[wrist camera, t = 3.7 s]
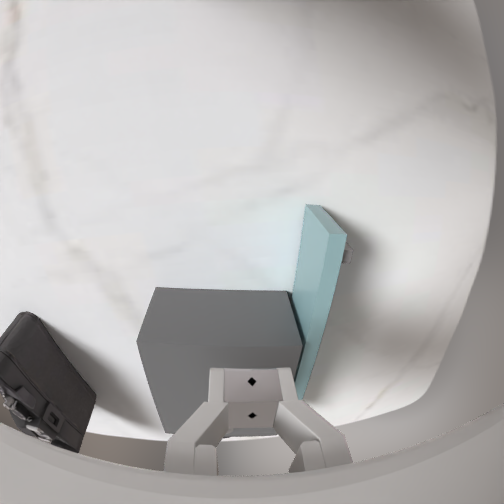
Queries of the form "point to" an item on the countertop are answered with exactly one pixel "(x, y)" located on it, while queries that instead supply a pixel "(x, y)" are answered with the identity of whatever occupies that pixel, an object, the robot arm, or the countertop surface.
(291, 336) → the camera housing
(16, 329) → the camera
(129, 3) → the countertop surface
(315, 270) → the side door
